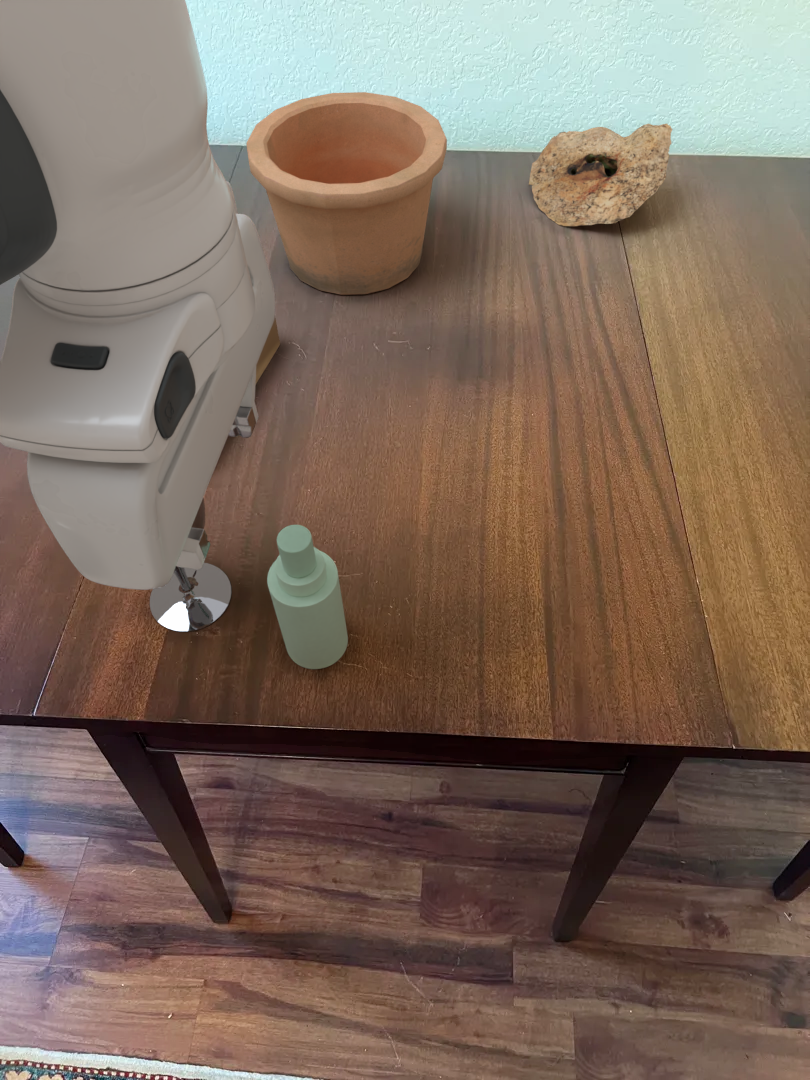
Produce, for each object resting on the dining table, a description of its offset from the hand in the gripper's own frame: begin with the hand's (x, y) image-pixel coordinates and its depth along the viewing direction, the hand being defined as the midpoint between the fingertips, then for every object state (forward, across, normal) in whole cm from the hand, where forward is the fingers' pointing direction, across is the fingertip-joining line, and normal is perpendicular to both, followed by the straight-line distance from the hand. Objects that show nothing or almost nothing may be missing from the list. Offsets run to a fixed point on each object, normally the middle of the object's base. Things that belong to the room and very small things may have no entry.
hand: (218, 489), depth 44 cm
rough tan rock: (+25, -72, +22) cm, 80 cm away
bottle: (+24, -3, +2) cm, 24 cm away
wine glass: (+24, -6, -10) cm, 27 cm away
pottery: (+24, -57, -6) cm, 62 cm away
